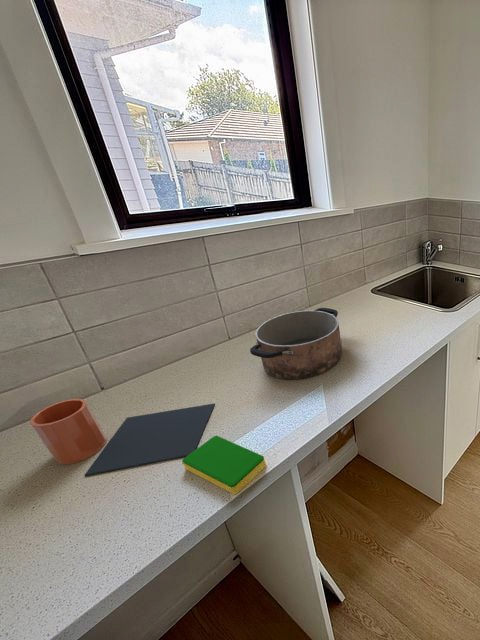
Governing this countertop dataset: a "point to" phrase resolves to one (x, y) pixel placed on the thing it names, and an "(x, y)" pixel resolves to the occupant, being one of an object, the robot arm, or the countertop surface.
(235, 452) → the dish sponge
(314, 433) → the countertop surface
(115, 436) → the mat
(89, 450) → the cup
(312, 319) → the cooking pot
